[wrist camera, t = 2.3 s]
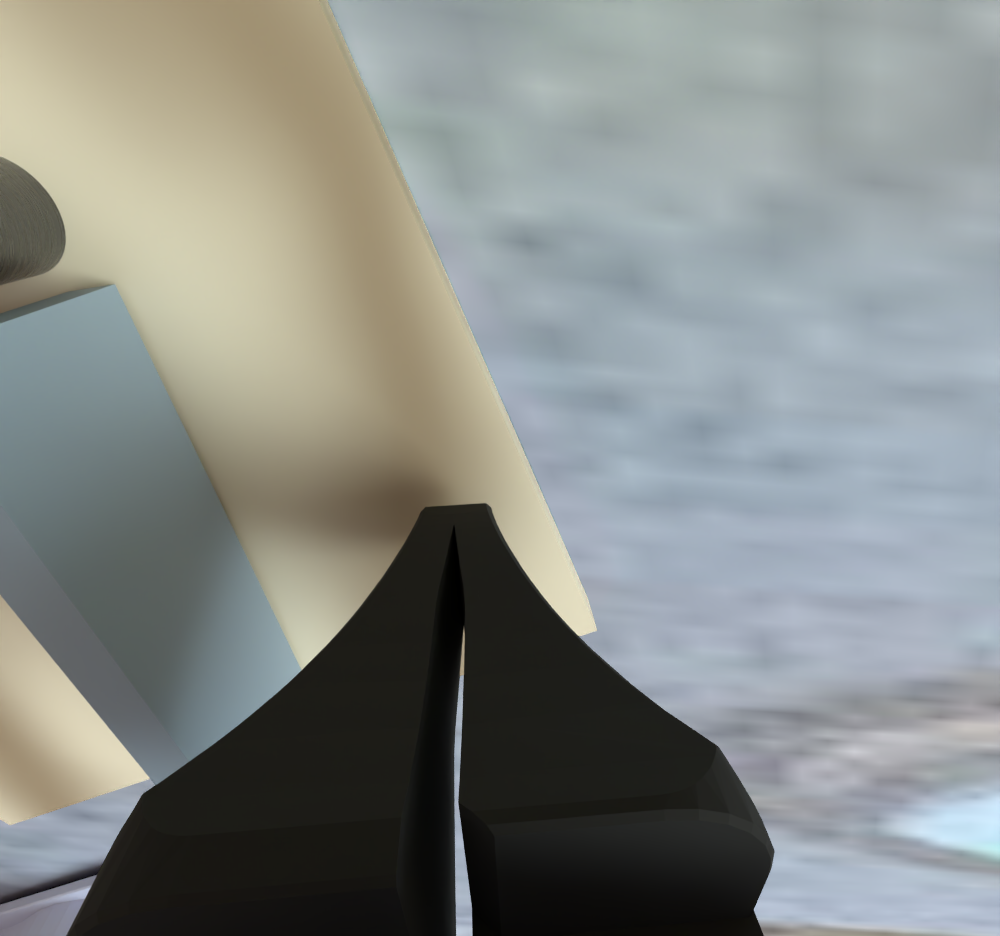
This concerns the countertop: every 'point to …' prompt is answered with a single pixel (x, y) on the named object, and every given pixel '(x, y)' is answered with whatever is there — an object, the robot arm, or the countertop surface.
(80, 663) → the slate bar
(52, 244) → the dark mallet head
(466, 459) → the maple board
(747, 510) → the countertop surface
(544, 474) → the countertop surface
